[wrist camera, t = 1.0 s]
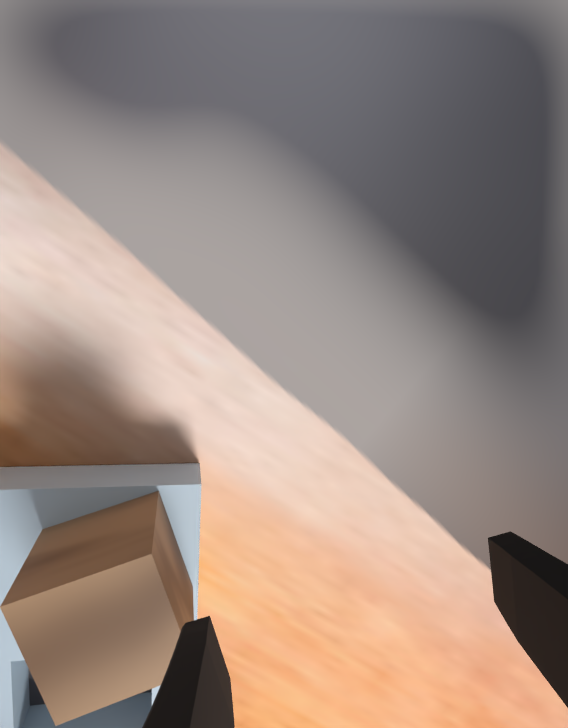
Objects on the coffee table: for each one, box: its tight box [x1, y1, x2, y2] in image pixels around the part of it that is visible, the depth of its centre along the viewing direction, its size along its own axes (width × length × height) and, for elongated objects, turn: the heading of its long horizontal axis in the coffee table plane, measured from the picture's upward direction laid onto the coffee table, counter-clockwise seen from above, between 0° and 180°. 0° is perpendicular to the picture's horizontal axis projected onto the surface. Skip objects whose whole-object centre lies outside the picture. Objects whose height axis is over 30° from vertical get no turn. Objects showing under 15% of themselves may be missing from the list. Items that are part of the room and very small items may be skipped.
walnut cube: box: [0, 491, 194, 726], centre depth 19 cm, size 5×5×5 cm
